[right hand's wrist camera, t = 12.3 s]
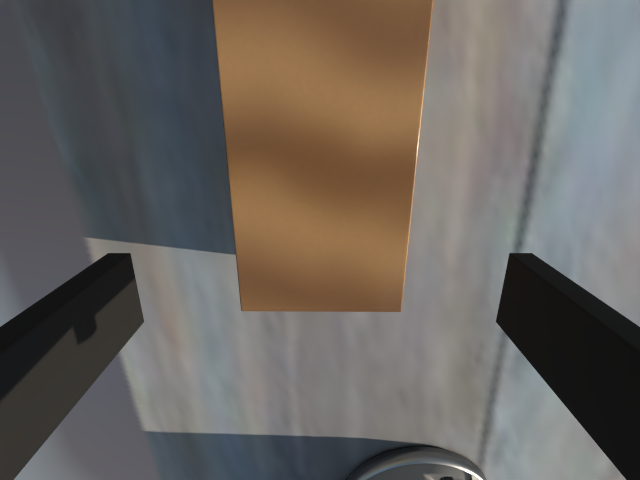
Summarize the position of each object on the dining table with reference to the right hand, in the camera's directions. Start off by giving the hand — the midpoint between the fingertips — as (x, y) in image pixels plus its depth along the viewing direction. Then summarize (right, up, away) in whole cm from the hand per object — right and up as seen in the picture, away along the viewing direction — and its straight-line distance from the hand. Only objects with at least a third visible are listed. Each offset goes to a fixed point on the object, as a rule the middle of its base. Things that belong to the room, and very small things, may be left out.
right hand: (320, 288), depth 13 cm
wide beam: (0, +34, +1) cm, 34 cm away
